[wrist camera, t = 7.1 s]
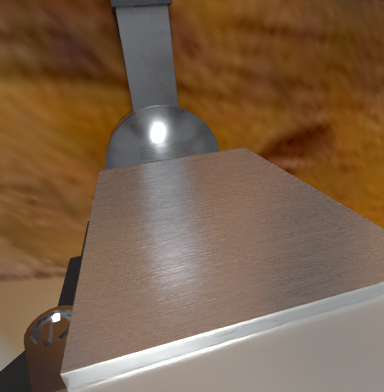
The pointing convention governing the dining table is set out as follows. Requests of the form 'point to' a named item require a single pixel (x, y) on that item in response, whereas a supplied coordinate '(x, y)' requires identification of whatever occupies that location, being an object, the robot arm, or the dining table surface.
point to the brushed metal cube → (209, 260)
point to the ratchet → (152, 93)
